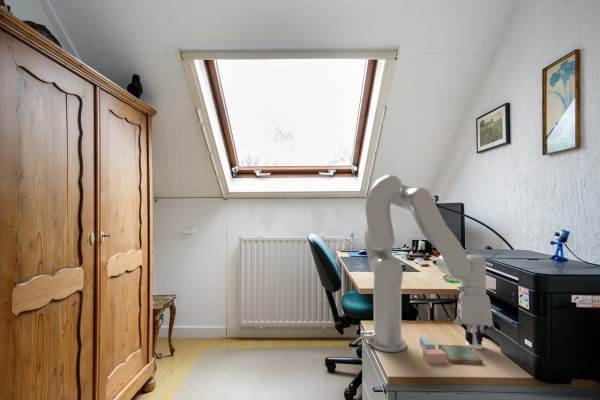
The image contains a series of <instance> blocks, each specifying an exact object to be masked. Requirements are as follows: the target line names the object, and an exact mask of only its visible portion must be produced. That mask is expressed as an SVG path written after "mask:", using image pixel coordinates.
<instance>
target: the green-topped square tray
mask: <svg viewBox="0 0 600 400" xmlns="http://www.w3.org/2000/svg"><path fill="white" fill-rule="evenodd" d="M437 346H438V349H441V350H443V351H444V352H445V353H446V362H448V363H449V364H450V363H451V364H466V365H467V364H469V365H483V360H482V358H481V357H480V356H479V355H478V354H477V353H476V352H475V351H474V349H473V348H470V347H469V346H467V345H460V344H459V345H458V344H457V345H456V344H454V345H453V344H437Z"/></svg>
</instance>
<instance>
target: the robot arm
mask: <svg viewBox="0 0 600 400" xmlns="http://www.w3.org/2000/svg"><path fill="white" fill-rule="evenodd" d="M391 205H394V206H397V207H398V208H399V207H400V208H403V209H406V210H408V211H410V212H411V214H412V216H413V218H414V220H415V222H416V224H417V227H418V228H419V230H420V232H421V234H422V235H423V236H424V238H425V239H426V240H427V241H428V242H429V243H430V244H432V246H434V248H435V249H436V250H437V252H438V253H439V254H440V255H438V256H437V258H436V261H435V264H436V265H435V266H436V267H437V269H438V270H439V271H440V272H441V273H443V274H445V275H446V276H449V277H450V278H453V279H454V280H460V282H461V284H460V286H457V291H459V295H458V299H457V308H456V314H457V315H456V317H455V319H454V323H455V324H456V325H458V326H459V327H462V329H463V330H465V340H466V342H468V343H469V344H473V343H472V330H471V328H472V325H477V326H476V329H477V331H476V339H477V341H478V344H479V345H482V346H483V344H482V343H483V340H484V337H483V336H484V335H483V334H484V333H485V331H486V330H487V329H488V328H490V327H494V325H495V324H494V321H493V312H492V307H491V306H492V305H491V299H490V296H489V295H488V294H487V277H486V276H487V274H486V273H487V267H486V266H487V262H486V258H485V257H484V256H483V255H481V254H469V253H468V254H467V253H466V251H465V249H464V247H463V246H462V244H461V242H460V240H458V238H457V236H455V235H454V233H453V232H452V230H451V229H450V228H449V226H448V225H447V224H446V223H445V220H444V219H443V216H442V214H441V213H440V211H439V208H438V206H437V205H436V202H435V200H434V198H433V196H432V194H431V193H430V191H429V190H428V189H426V188H424V187H421V186H420V187H419V186H417V187H411V186H407V185H404V184H402V181H401V180H400V178H399V177H398V176H396V175H393V174H389V175H383V176H381V177H380V178H379V177H378V178H377V179H376V180H375V181H374V183H373V185H372V187H371V189H370V191H369V192H368V195H367V196H366V200H365V216H366V217H365V218H366V224H367V228H366V230H365V232H364V244H365V251H366V255H367V261H368V266H369V269H370V272H372V273H373V278H374V279H373V290H372V291H373V294H372V295H373V296H372V297H373V298H372V299H373V327H371V330H370V329H369V331H368V330H360V337H364V339H365V340H368V342H369V345H370V346H371V347H372V348H374V349H376V350H378V351H381V352H386V353H398V352H402V351H404V350H405V349H406V348H407V341H406V340H405V339H404V338H402V285H403V275H404V272H403V267H402V265H401V263H400V261H399V259H397V258H396V257H395V256H393V252H392V249H393V248H394V245H395V241H396V237H395V233H394V227H393V223H392V222H393V221H392V216H391V215H392V214H391Z"/></svg>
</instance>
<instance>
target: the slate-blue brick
mask: <svg viewBox="0 0 600 400" xmlns="http://www.w3.org/2000/svg"><path fill="white" fill-rule="evenodd" d="M419 346H420V347H421V349H422V351H423V350H432V349H436V344H435V342H433V341H432V340H431V339H430V337H429V336H419Z"/></svg>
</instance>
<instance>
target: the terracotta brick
mask: <svg viewBox="0 0 600 400" xmlns="http://www.w3.org/2000/svg"><path fill="white" fill-rule="evenodd" d="M422 357H423V358H422V359H423V361H425V363H427V364H446V363H447V360H446V353H445V352H444V351H443V350H441V349H439V348H438V349H437V348H435V349H432V350H423V349H422Z"/></svg>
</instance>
